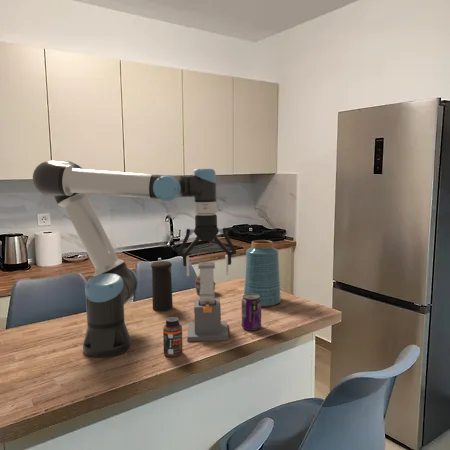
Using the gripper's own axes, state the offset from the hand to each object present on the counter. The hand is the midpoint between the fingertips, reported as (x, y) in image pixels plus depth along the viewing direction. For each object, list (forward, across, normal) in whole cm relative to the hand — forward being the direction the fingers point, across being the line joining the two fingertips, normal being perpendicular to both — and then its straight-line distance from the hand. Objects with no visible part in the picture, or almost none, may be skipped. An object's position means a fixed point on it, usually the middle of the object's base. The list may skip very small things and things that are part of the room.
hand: (207, 274), depth 142 cm
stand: (+21, 0, 0) cm, 21 cm away
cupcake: (+21, -2, +47) cm, 52 cm away
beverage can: (+22, +16, +3) cm, 27 cm away
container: (+21, -20, +28) cm, 40 cm away
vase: (+22, +24, +33) cm, 46 cm away
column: (+19, 0, 0) cm, 19 cm away
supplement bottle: (+21, -12, -16) cm, 29 cm away
